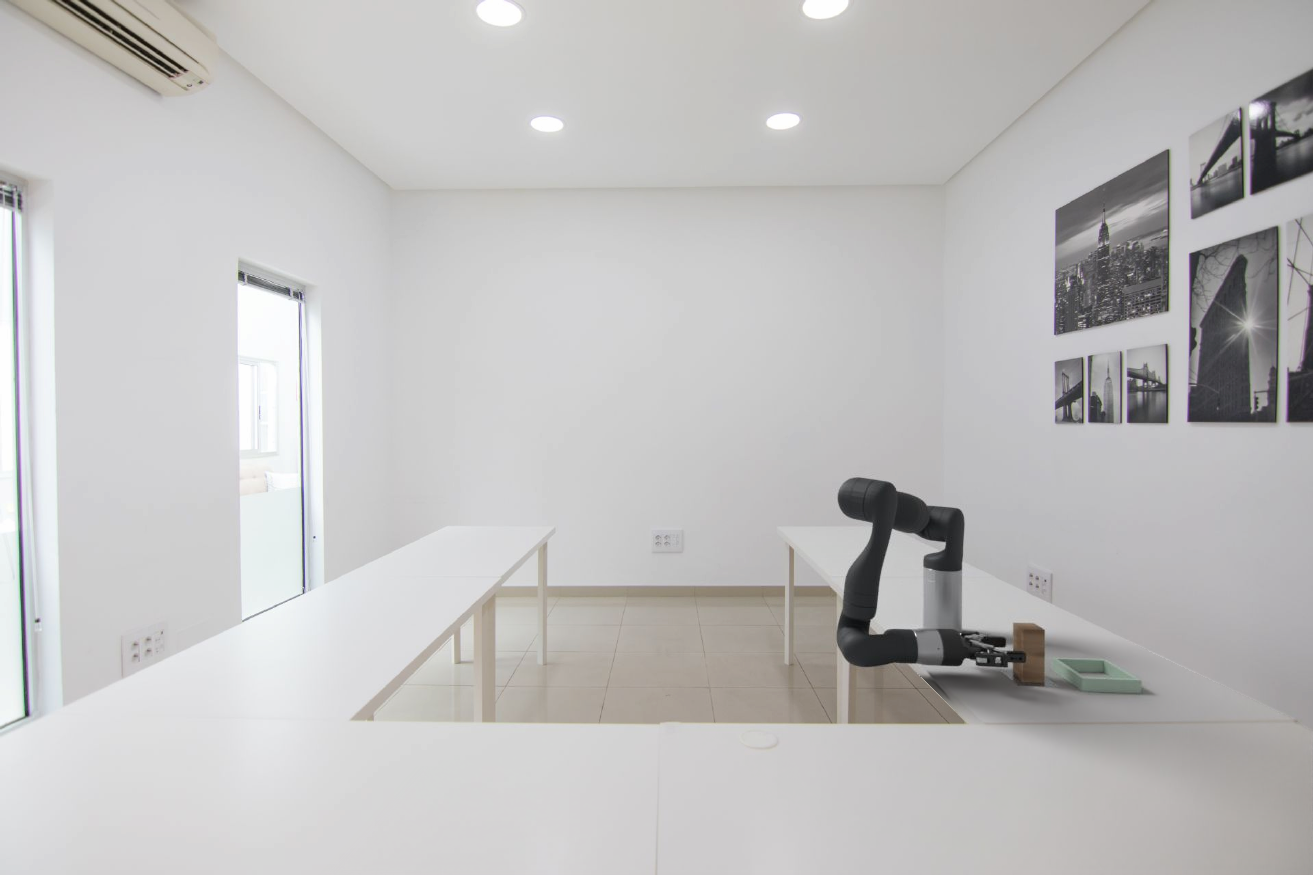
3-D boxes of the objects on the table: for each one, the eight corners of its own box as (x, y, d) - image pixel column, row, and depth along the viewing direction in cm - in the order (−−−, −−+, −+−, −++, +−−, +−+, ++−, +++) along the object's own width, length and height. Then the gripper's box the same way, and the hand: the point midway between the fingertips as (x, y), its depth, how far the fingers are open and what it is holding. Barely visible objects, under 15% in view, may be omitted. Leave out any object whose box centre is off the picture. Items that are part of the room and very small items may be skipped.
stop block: (1012, 673, 128) (1013, 622, 128) (1033, 674, 127) (1033, 623, 127) (1023, 681, 124) (1023, 629, 123) (1044, 682, 123) (1044, 629, 123)
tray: (1051, 673, 130) (1051, 657, 130) (1104, 675, 129) (1105, 659, 129) (1082, 695, 119) (1082, 678, 119) (1141, 697, 118) (1141, 680, 118)
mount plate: (999, 674, 130) (999, 669, 130) (1038, 675, 129) (1038, 670, 129) (1018, 690, 122) (1018, 685, 122) (1059, 691, 121) (1059, 686, 121)
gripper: (947, 641, 120) (1032, 643, 118) (923, 618, 134) (999, 620, 133) (947, 678, 120) (1032, 681, 119) (923, 651, 134) (998, 654, 133)
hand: (1014, 649), depth 126 cm, fingers open, 8 cm apart
